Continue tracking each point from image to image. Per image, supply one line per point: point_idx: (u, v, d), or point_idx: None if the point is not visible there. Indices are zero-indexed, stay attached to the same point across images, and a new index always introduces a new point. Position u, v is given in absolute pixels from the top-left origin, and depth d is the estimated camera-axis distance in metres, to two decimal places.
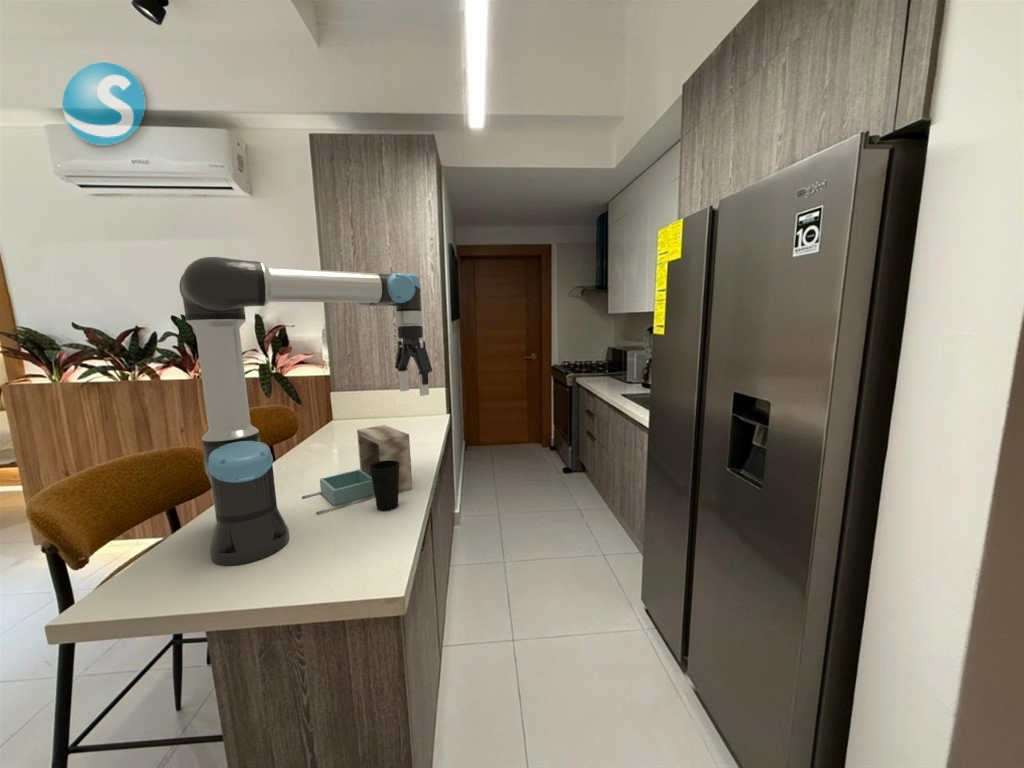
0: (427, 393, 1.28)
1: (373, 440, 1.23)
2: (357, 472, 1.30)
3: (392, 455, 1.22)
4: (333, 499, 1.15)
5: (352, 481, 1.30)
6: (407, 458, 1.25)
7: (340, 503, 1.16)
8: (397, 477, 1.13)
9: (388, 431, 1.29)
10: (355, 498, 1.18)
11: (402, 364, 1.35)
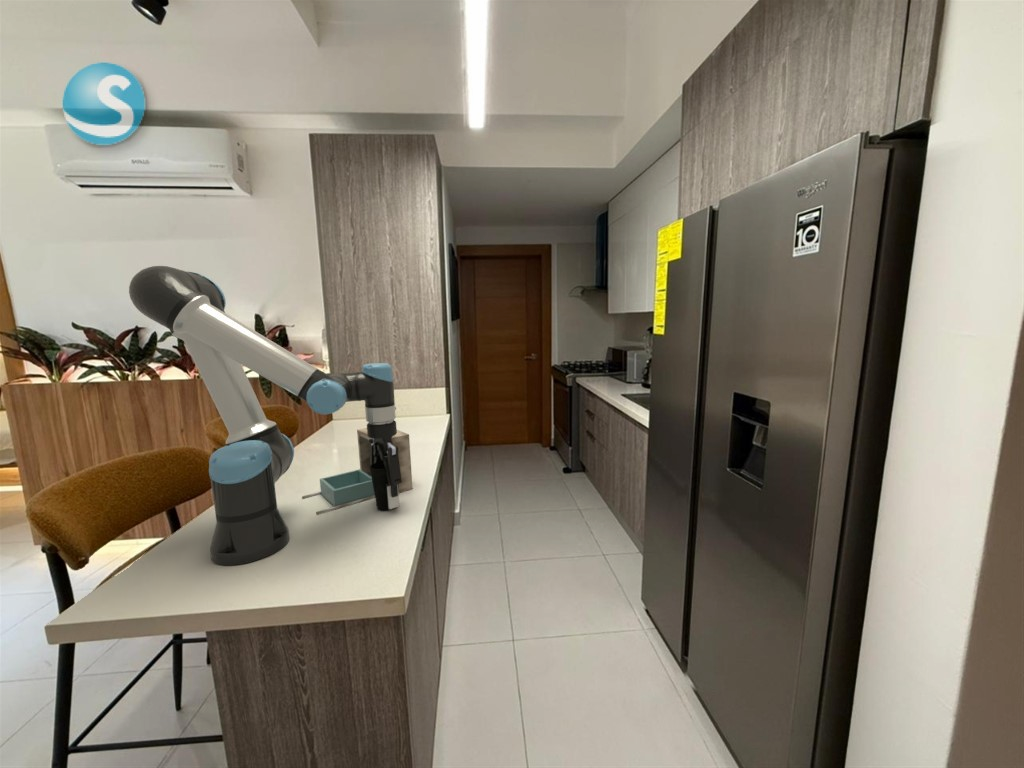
0: (397, 505, 1.11)
1: None
2: (357, 472, 1.30)
3: None
4: (333, 499, 1.15)
5: (352, 481, 1.30)
6: (407, 458, 1.25)
7: (340, 503, 1.16)
8: None
9: None
10: (355, 498, 1.18)
11: None
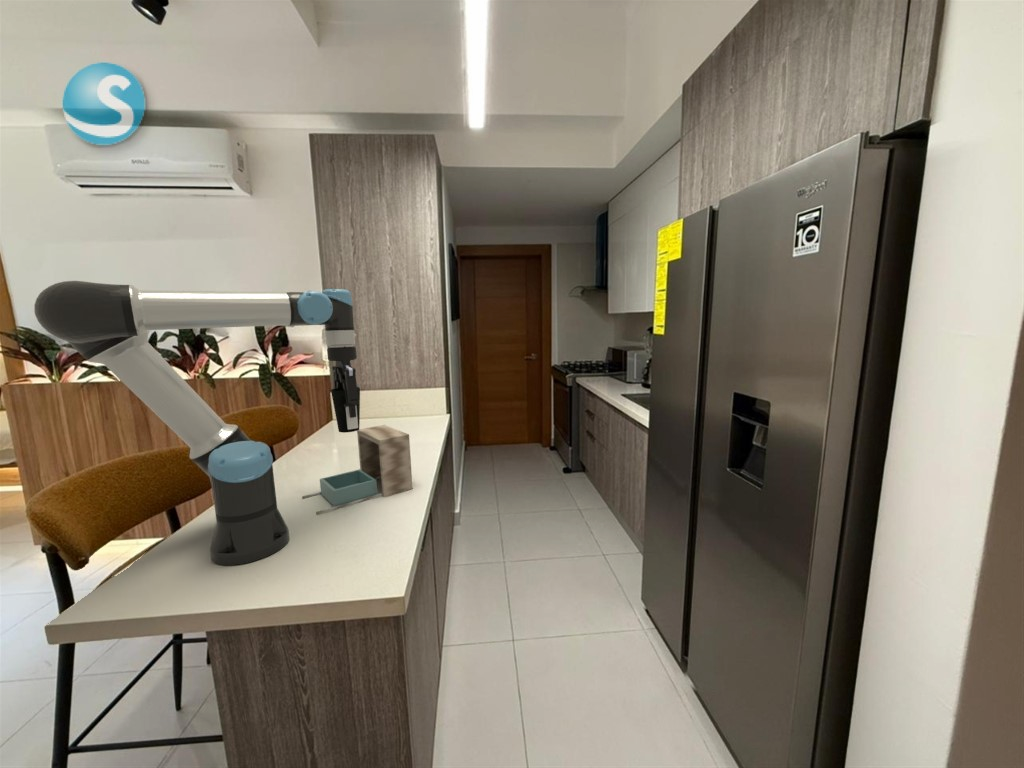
0: (356, 426, 1.16)
1: (373, 440, 1.23)
2: (357, 472, 1.30)
3: (392, 455, 1.22)
4: (333, 499, 1.15)
5: (352, 481, 1.30)
6: (407, 458, 1.25)
7: (340, 503, 1.16)
8: None
9: (388, 431, 1.29)
10: (355, 498, 1.18)
11: None
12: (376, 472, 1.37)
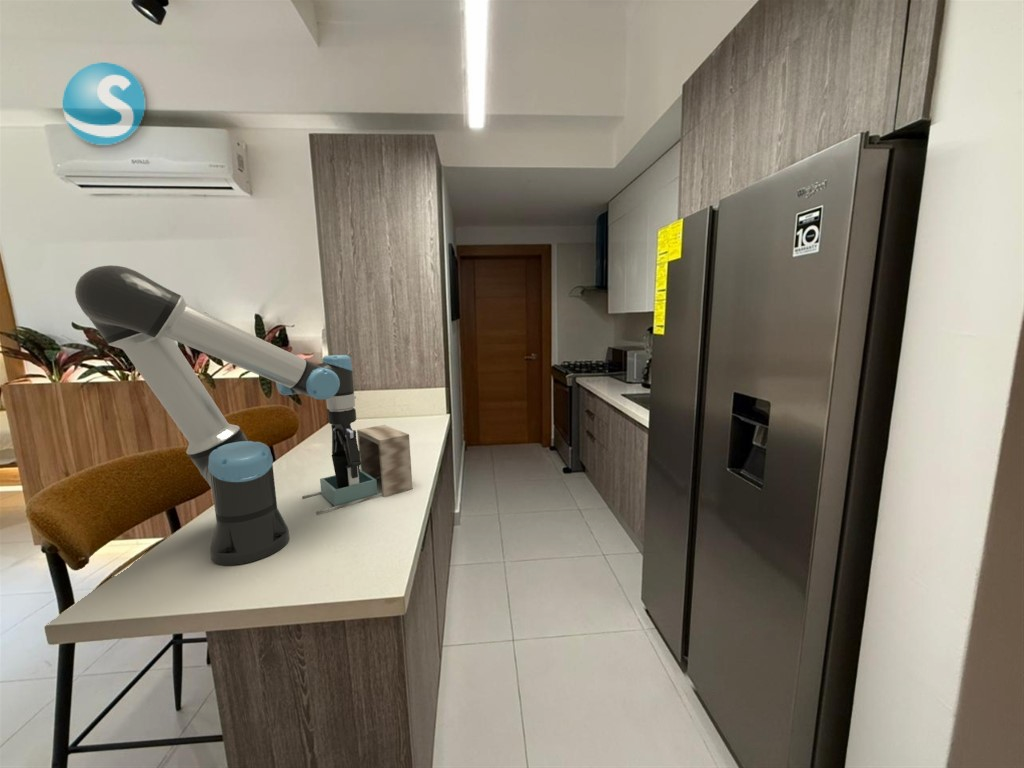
0: None
1: (373, 440, 1.23)
2: None
3: (392, 455, 1.22)
4: (333, 499, 1.15)
5: None
6: (407, 458, 1.25)
7: (340, 503, 1.16)
8: None
9: (388, 431, 1.29)
10: (355, 498, 1.18)
11: (337, 450, 1.25)
12: (376, 472, 1.37)
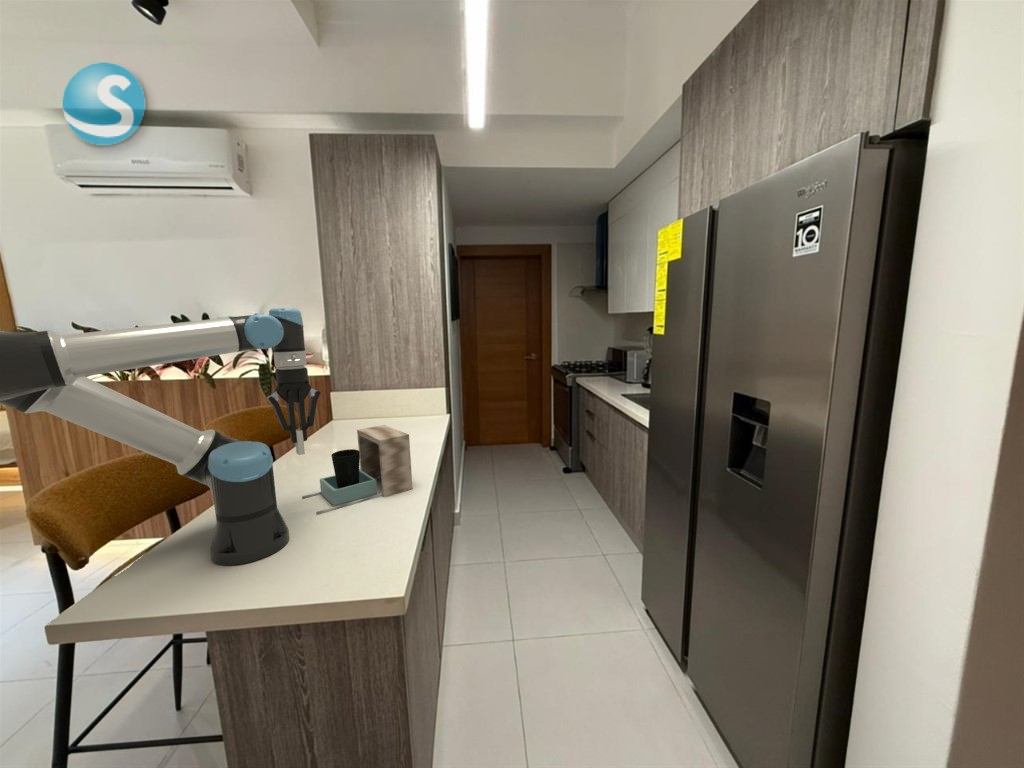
0: (298, 453, 1.13)
1: (373, 440, 1.23)
2: None
3: (392, 455, 1.22)
4: (333, 499, 1.15)
5: None
6: (407, 458, 1.25)
7: (340, 503, 1.16)
8: (357, 464, 1.22)
9: (388, 431, 1.29)
10: (355, 498, 1.18)
11: None
12: (376, 472, 1.37)
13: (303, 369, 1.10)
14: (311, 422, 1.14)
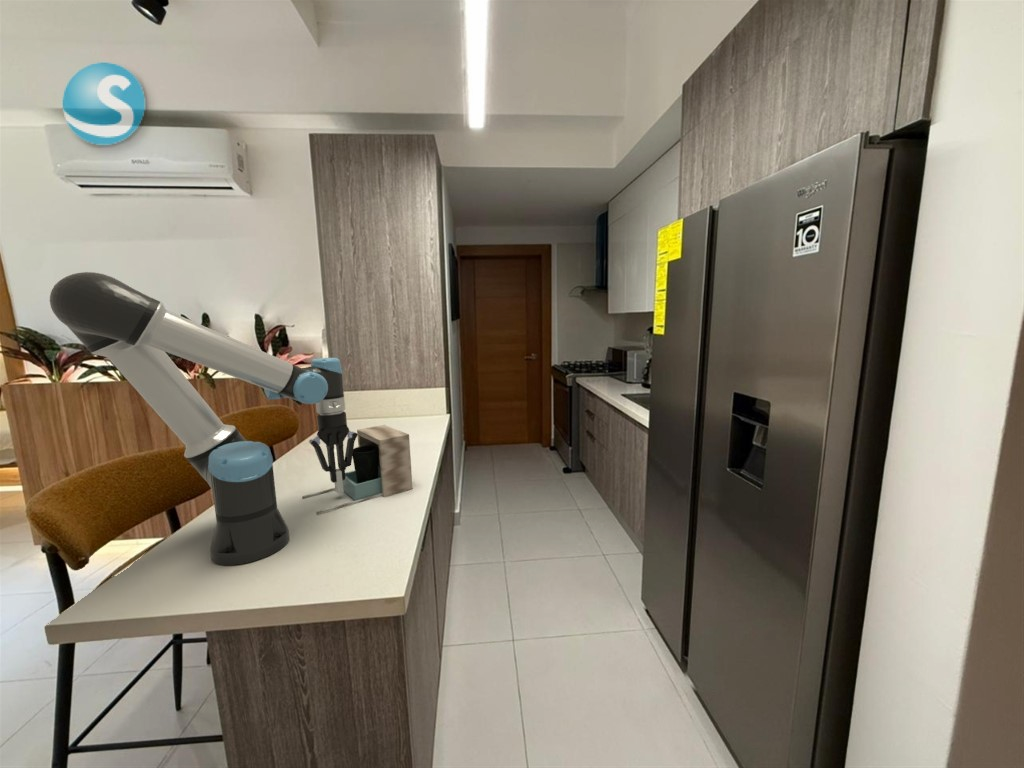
0: (337, 491, 1.21)
1: (373, 440, 1.23)
2: None
3: (392, 455, 1.22)
4: (354, 493, 1.19)
5: None
6: (407, 458, 1.25)
7: (361, 497, 1.19)
8: (376, 460, 1.25)
9: (388, 431, 1.29)
10: (375, 492, 1.22)
11: (337, 457, 1.21)
12: None
13: (343, 414, 1.18)
14: (349, 462, 1.22)
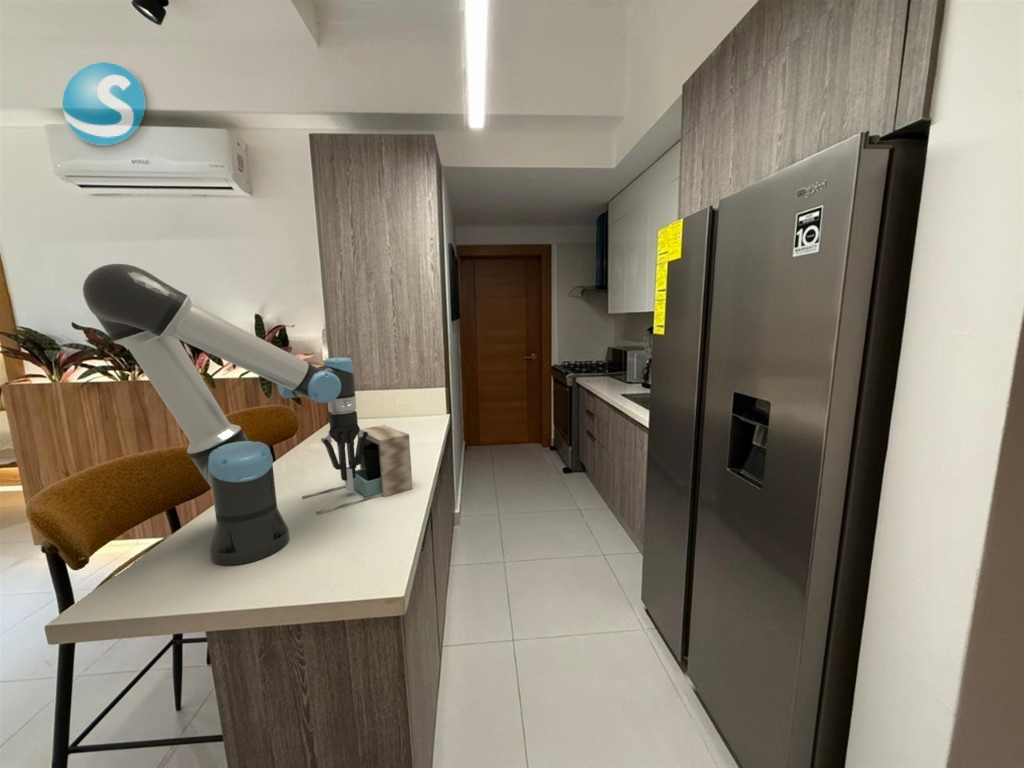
0: (347, 489, 1.22)
1: (373, 440, 1.23)
2: None
3: (392, 455, 1.22)
4: (365, 490, 1.21)
5: None
6: (407, 458, 1.25)
7: (371, 494, 1.21)
8: None
9: (388, 431, 1.29)
10: None
11: (348, 456, 1.23)
12: None
13: (354, 413, 1.20)
14: (359, 461, 1.24)
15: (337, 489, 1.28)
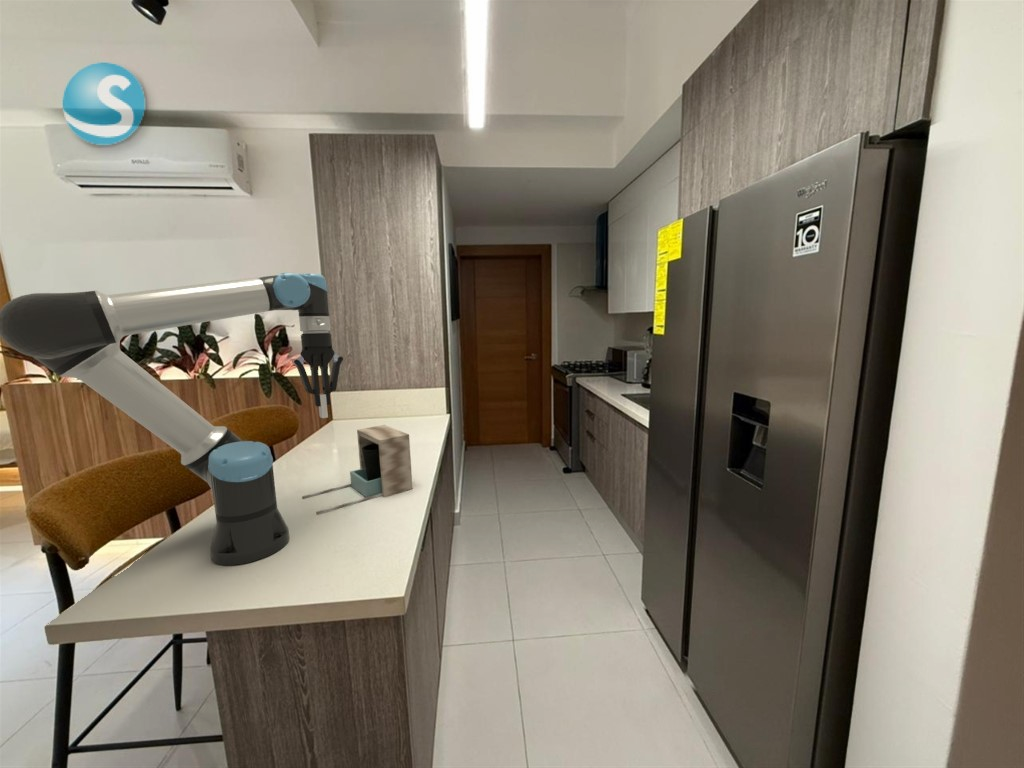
0: (321, 416, 1.16)
1: (373, 440, 1.23)
2: None
3: (392, 455, 1.22)
4: (365, 490, 1.21)
5: None
6: (407, 458, 1.25)
7: (371, 494, 1.21)
8: None
9: (388, 431, 1.29)
10: None
11: (322, 381, 1.17)
12: None
13: (328, 334, 1.13)
14: (334, 387, 1.17)
15: (337, 489, 1.28)
